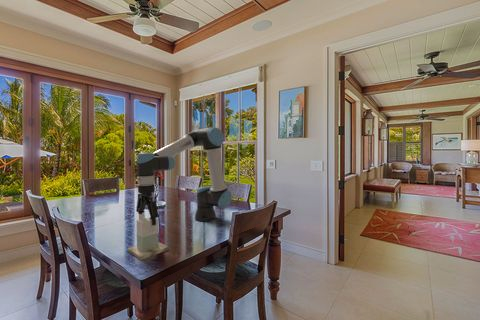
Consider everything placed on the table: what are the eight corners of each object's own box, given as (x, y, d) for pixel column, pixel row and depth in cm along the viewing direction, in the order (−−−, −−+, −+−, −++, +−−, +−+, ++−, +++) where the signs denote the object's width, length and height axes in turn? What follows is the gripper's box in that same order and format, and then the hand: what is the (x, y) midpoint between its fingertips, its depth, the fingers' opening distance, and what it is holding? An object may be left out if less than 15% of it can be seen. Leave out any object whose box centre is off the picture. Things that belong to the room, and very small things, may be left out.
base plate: (154, 242, 125) (154, 239, 125) (168, 249, 116) (168, 246, 115) (127, 251, 114) (127, 248, 114) (140, 260, 105) (140, 256, 105)
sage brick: (152, 243, 120) (152, 230, 119) (158, 246, 116) (158, 232, 115) (137, 248, 114) (136, 234, 113) (142, 252, 110) (142, 237, 109)
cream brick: (152, 230, 119) (151, 216, 119) (158, 232, 115) (158, 219, 115) (136, 234, 113) (136, 220, 113) (142, 237, 109) (142, 222, 109)
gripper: (128, 183, 118) (129, 225, 119) (150, 188, 103) (151, 236, 104) (142, 181, 124) (143, 222, 125) (165, 186, 108) (166, 232, 109)
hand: (147, 228), depth 114 cm, fingers open, 10 cm apart
